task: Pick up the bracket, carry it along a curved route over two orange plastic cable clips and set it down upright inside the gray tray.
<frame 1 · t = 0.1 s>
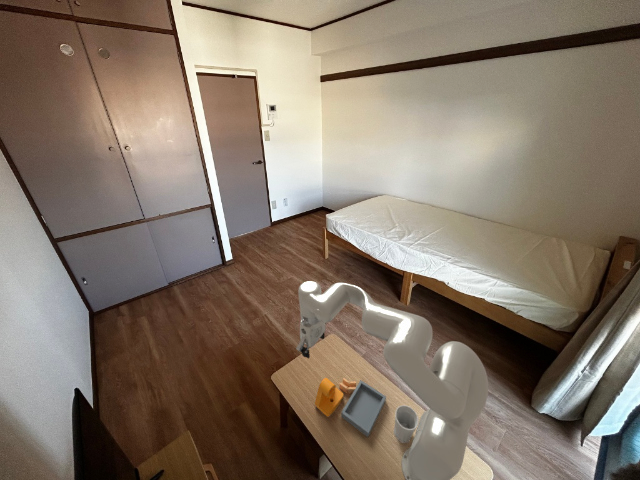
hand: (313, 346, 94), 31 cm above the table, fingers open, 9 cm apart
clip 2: (351, 389, 109), on the table
clip 1: (344, 387, 110), on the table
cup: (402, 433, 95), on the table
bracket: (329, 402, 105), on the table
gray tray: (363, 408, 102), on the table
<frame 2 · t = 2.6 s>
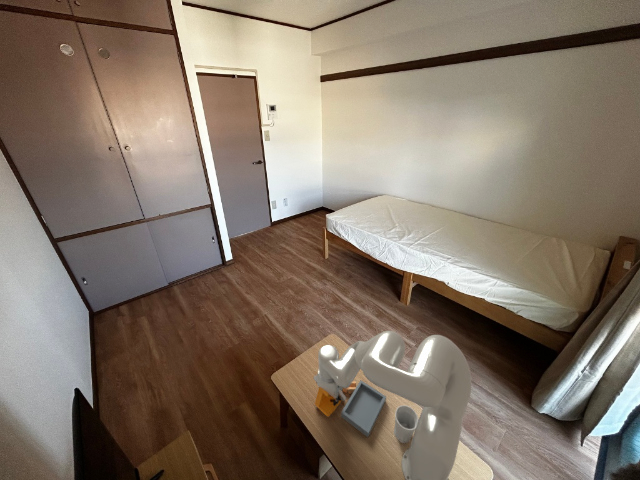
hand: (329, 397, 104), 3 cm above the table, fingers open, 5 cm apart
bracket: (329, 402, 105), on the table, touching gripper
everything else where it was.
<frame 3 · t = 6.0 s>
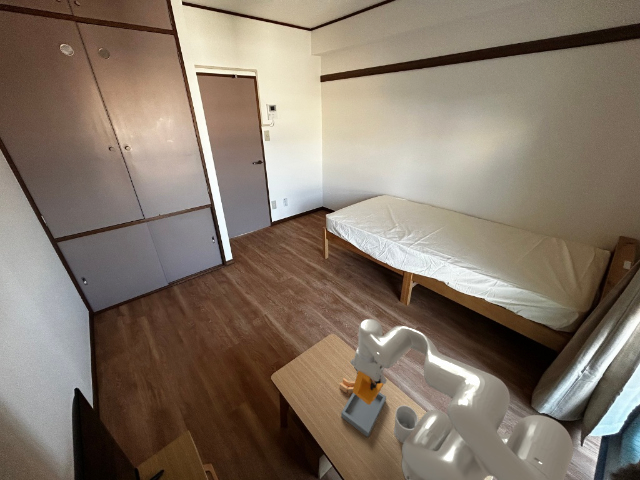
hand: (367, 382, 93), 19 cm above the table, fingers closed on bracket, 4 cm apart
bracket: (368, 389, 94), point 15 cm above the table, touching gripper
everything else where it was.
when the fingers open (6 cm above the table, at t = 8.9 s): bracket drops 2 cm, resting on gray tray.
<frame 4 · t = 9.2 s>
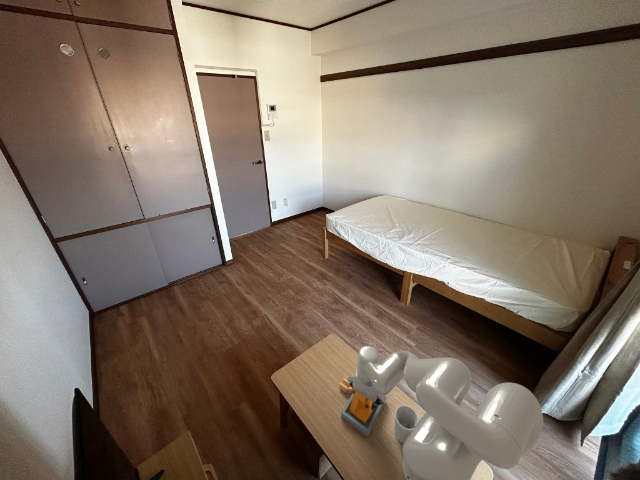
hand: (364, 400, 99), 6 cm above the table, fingers open, 7 cm apart
bracket: (364, 408, 102), point 1 cm above the table, touching gray tray
everything else where it was.
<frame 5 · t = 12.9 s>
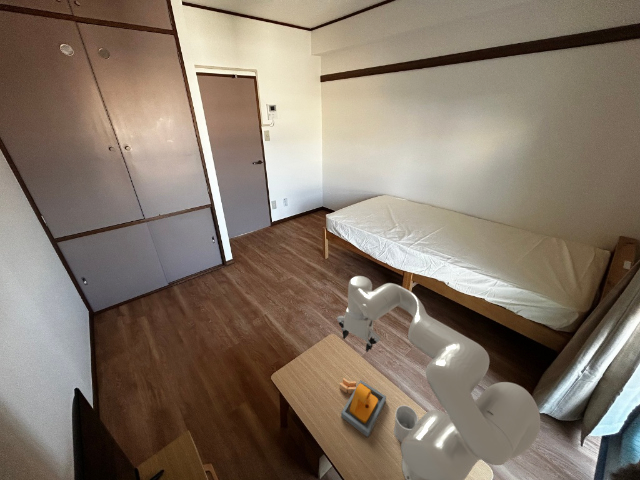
hand: (356, 342, 93), 32 cm above the table, fingers open, 9 cm apart
nothing on the table moved.
at the end: bracket inside the target area on the gray tray (0.1 cm from its centre), point 0.8 cm above the gray tray's base; bracket tilted 0°; the gripper is holding nothing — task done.
